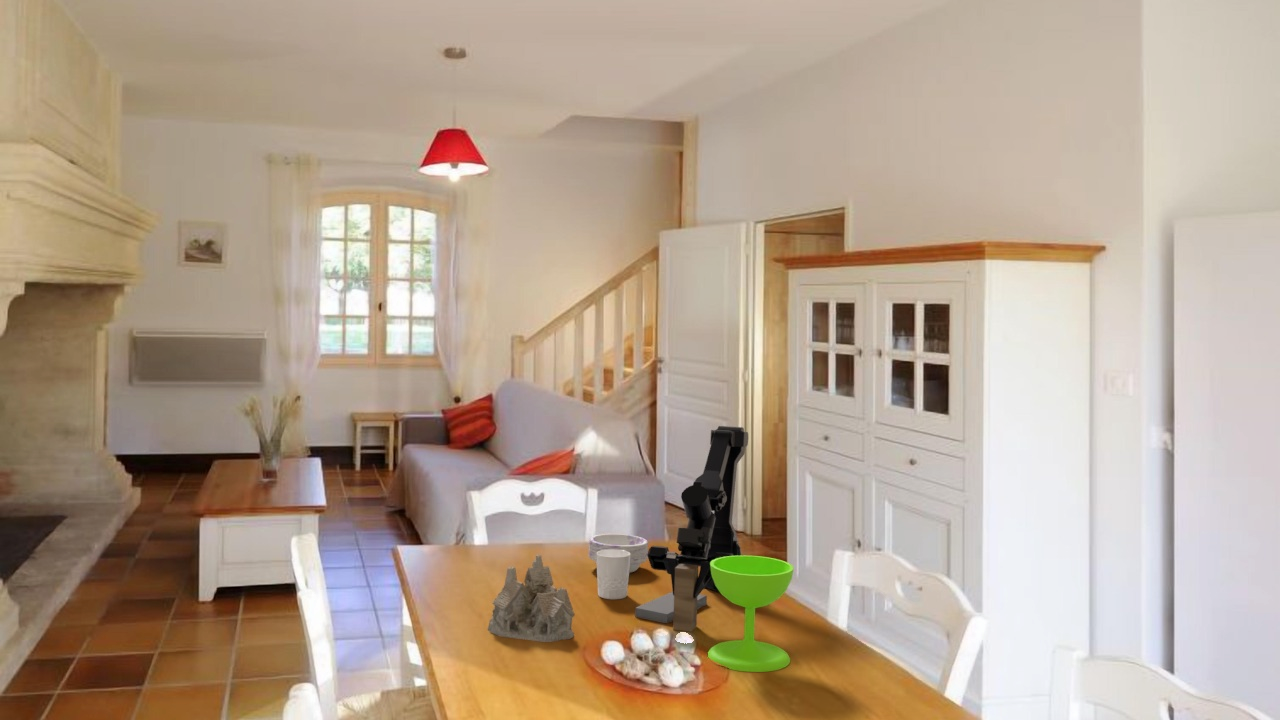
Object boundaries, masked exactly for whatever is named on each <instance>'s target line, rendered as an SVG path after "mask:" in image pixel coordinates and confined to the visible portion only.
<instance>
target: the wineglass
mask: <svg viewBox="0 0 1280 720" xmlns="http://www.w3.org/2000/svg"><path fill="white" fill-rule="evenodd" d="M710 567H711V575H712V578H713V581H714V583H715V586H716V587H717V589H718V590H719V591H720V592H719V593H720V594H721V595H722V596H723V597H724V598H726V599H727V600H728V601H729V602H730V603H732V604H733V605H737V606H739V607H743V608H744V629H743V630H744V632H743V633H744V635H743V639H742V640H741V639H740V640H738V639H737V640H729V641H728V640H727V641H723V642H719V643H716V644H715V645H713V646H712V647H710V648H709V650H708V652H707V653H708V657H709V658H710V659H711V660H713V661H714V662H717V663H719V664H721V665H723V666H726V667H728V668H729V669H728V670H731V671H736V672H737V671H739V672H746V673H747V672H748V673H763V672H764V673H765V672H766V673H767V672H773V671H779V670H781V669H785V668H786V667H788V665H790V662H791V658H790V656H789V654H788V653H787V652H786V651H785V650H784V649H783V648H781V647H779V646H777V645H774V644H771V643H768V642H763V641H760V640H759V641H758V640H755V627H756V626H755V621H756V618H755V617H756V609H758V608H763V607H767V606H769V605H771V604H772V603H774V602H776V601H778V600H779V599H780V598H781V597H782V595H784V594H785V593H786V591H787V590H788V588H789V586H790V584H791V582H792V579H793V575H794V574H793V573H794V565H793V564H792V563H789V562H788V561H784V560H781V559H779V558H775V557H773V558H772V557H769V556H768V557H767V556H759V555H746V554H745V555H742V554H741V555H740V556H726V557H720V558H716V559H714V560H712V561H711V562H710ZM708 657H707V658H708Z"/></svg>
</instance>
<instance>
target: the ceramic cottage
mask: <svg viewBox="0 0 1280 720" xmlns="http://www.w3.org/2000/svg"><path fill="white" fill-rule="evenodd" d="M516 569H517V568H516V567H513V566H508V567H507V570H506V576H505V579H504V585H503V587H502V588H501V590H500V592H499V593H498V594H497V595H496V597H495V598H494V600H493V601H492V602H491V603H492V604H493V605H494V607H493V609H492V615H491V618H490V619H489V623H488V626H487V627H488V628H487V631H488V632H489V633H491V634H493V635H495V636H496V635H497V636H498V637H501V638H511V639H518V640H526V641H534V642H543V643H550V642H551V643H552V642H559V641H560V640H564V641H565V640H569V639H572V638H574V637H575V635H574V634H575V633H574V631H573V629H572V626H573V625H572V624H573V618H574V617H575V612H574V611H573V610H574V608H573V606H572V603H571V600H570V596H569V592H568V590H567V588H564V587H559V588H558V589H557V587H555V586H554V581H553V576H552V574H551V573H552V572H551V569H550V566H549V565H546V566H544V562H543V560H542V555H540V554H536V555H535V559H534V560H533V561H532V565H531V567H527V571H526V574H525V577H524V581H523V582H524V583H523V582H521V581H519V580H518V579H517V570H516Z"/></svg>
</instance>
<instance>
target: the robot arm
mask: <svg viewBox="0 0 1280 720" xmlns="http://www.w3.org/2000/svg"><path fill="white" fill-rule="evenodd" d="M709 441H710V443H709V444H710V446H709V451H708V454H707V458H706V462H705V465H704V468H703V472H702V474H700V475H699V476H698V477H696V478H695V479H694V480H695V481H693V483H692V485H690V486H688V487H686V488H685V489H684V490H683V491H682V492H681V496H680V499H681V501H682V505H683V509H684V512H685V516H686V518H687V519H688V522H687V526H686V527H677V528H678V529H677V536H676V544H678V545H677V549H678V552H680V554H678V553H677V552H675V551H670V550H669V547H668V546H663V545H662V546H661V545H652V546H650V547H648V554H647V560H648V561H649V565H650V567H651V569H652V570H655V571H663V572H664V571H665V572H666V573H667V574H668V575H670V577H671V578H670V579H671V587H672V588H671V589H672V592H673V595H674V585H675V567H677V566H678V565H679V564H689V565H698V567H700V569H699V572H698V579H697V582H696V585H695V588H694V594H693V597H694V598H696V597H697V596H698V595H699V594H700V595H701V592H703V590H704V589H705V588H706V589H708V590H711V591H714V592H717V593H720V591H719V590H718V589H717V587H716V586H715V583H714V581H713V578H712V575H711V567H710V562H711V561H712V560H714V559H716V558H720V557H726V556H740V555H742V550H741V547H740V543H739V541H738V533H737V531H736V529H735V527H734V525H733V513H734V504H735V490H736V479H737V472H738V471H737V470H738V463H739V462H740V460H741V459H743V457H744V455H745V451H746V448H747V447H748V445H749V432H748V431H745V430H744V427H742V426H741V427H740V426H728V425H727V426H724V425H718V427H717V429H711V430H710V440H709Z"/></svg>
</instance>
